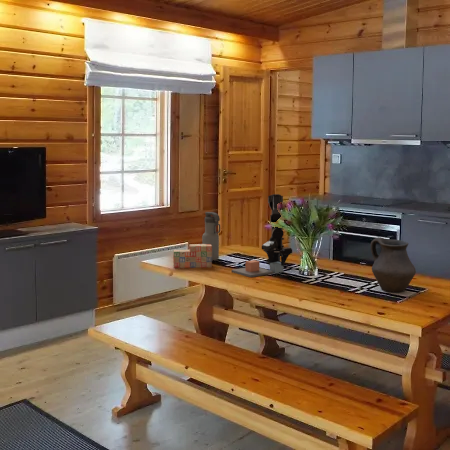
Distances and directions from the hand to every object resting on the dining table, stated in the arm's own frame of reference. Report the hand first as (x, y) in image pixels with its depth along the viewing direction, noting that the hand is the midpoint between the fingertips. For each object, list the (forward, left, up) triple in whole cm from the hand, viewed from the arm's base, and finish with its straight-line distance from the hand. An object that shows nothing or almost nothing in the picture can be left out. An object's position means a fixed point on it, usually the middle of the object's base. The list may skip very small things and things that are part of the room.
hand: (276, 264), depth 347 cm
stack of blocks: (+28, -39, -4) cm, 48 cm away
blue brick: (0, 0, -4) cm, 4 cm away
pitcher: (-17, +63, -4) cm, 65 cm away
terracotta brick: (+12, -6, -3) cm, 14 cm away
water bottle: (+8, -49, -4) cm, 50 cm away
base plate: (+12, -6, -4) cm, 14 cm away
